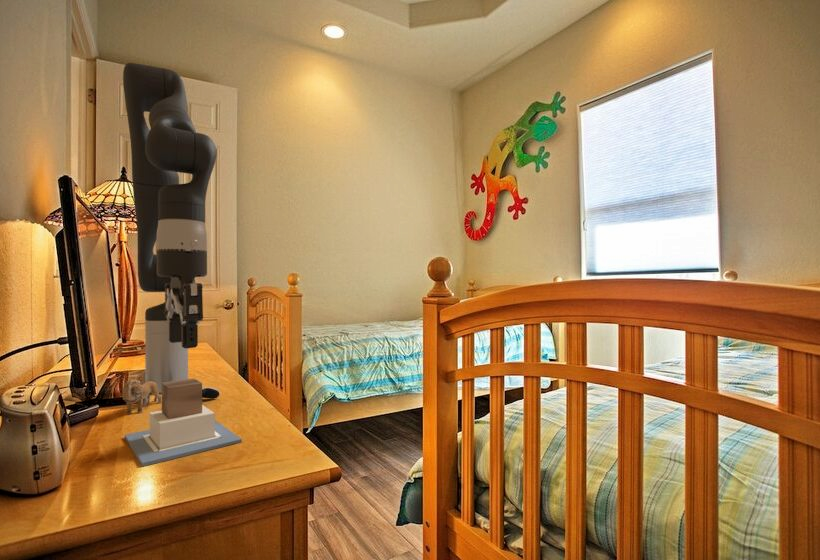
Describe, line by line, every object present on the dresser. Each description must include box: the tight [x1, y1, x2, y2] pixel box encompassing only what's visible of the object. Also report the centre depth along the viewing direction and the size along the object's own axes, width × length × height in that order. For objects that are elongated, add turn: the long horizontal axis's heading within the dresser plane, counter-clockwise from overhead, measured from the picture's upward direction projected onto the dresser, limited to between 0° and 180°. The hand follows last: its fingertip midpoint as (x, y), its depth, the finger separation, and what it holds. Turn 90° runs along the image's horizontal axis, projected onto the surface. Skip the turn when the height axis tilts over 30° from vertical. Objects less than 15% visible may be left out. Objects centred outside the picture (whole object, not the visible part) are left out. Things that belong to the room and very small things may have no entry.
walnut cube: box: [161, 378, 203, 419], centre depth 71 cm, size 5×5×5 cm
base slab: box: [149, 404, 216, 450], centre depth 71 cm, size 8×8×4 cm
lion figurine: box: [121, 379, 162, 415], centre depth 89 cm, size 12×4×7 cm, turn 9°
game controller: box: [202, 386, 221, 400], centre depth 92 cm, size 10×5×6 cm
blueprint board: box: [124, 419, 243, 467], centre depth 71 cm, size 16×14×1 cm
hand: (182, 344), depth 72 cm, fingers open, 8 cm apart
